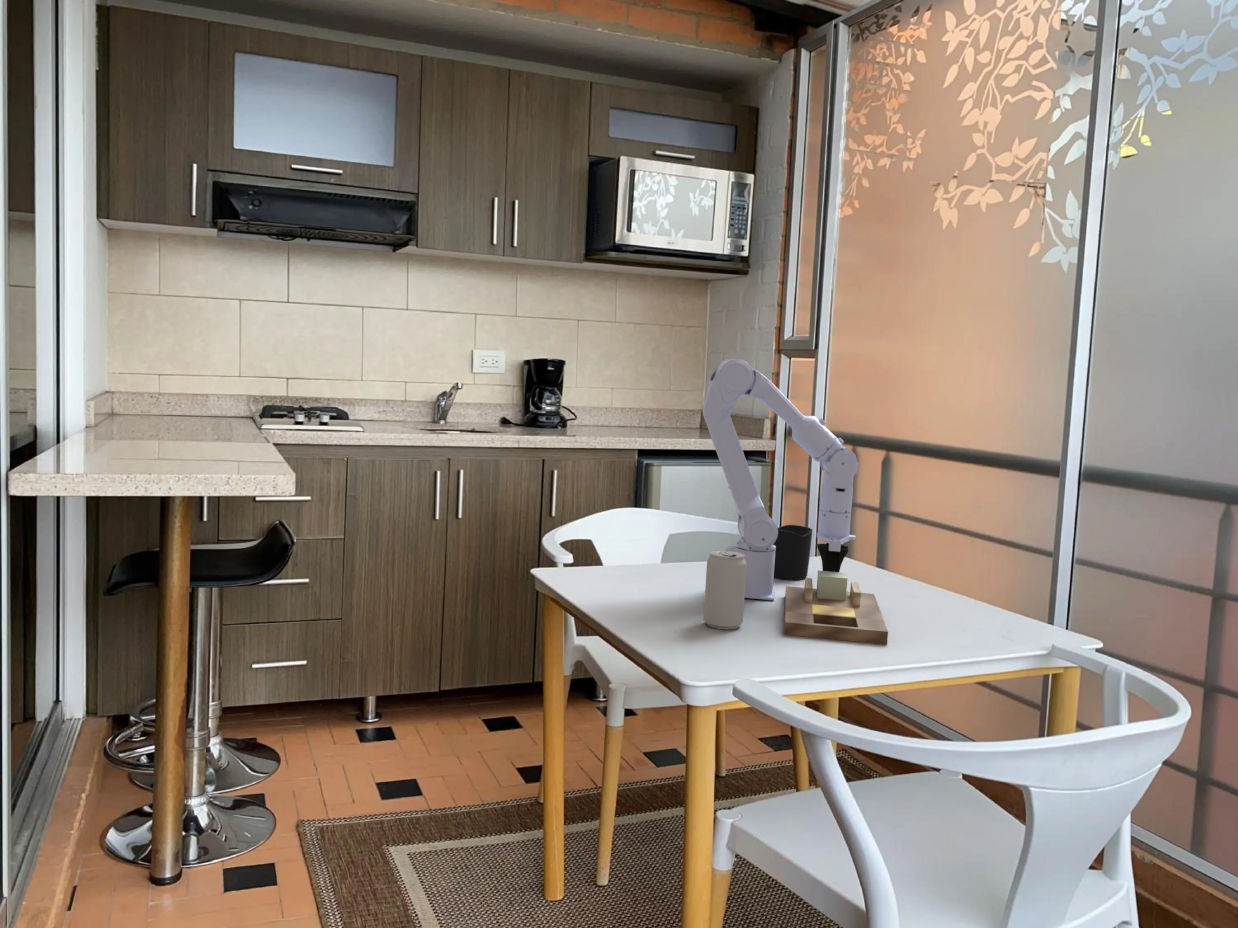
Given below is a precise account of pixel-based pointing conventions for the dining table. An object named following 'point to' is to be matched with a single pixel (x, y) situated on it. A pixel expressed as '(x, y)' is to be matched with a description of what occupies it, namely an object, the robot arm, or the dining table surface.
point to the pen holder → (792, 552)
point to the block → (831, 585)
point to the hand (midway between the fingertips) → (829, 583)
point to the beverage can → (725, 589)
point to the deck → (834, 615)
